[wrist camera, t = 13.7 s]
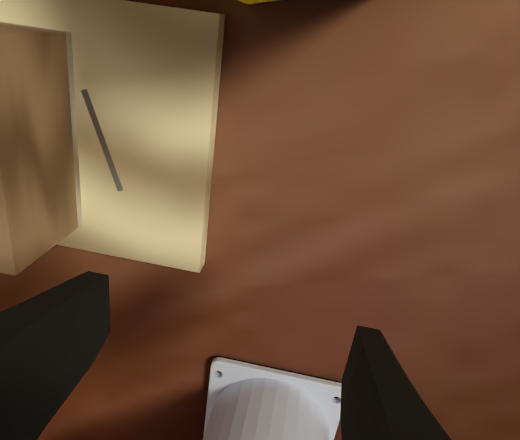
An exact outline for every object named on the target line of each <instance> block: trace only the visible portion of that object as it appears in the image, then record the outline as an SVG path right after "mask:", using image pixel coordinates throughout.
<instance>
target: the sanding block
mask: <svg viewBox="0 0 520 440" xmlns="http://www.w3.org/2000/svg"><path fill="white" fill-rule="evenodd" d="M81 225H82V209H81V192H80V175H79V158H78V140H77V123H76V106H75V89H74V72H73V55H72V38H71V32H66V31H60V30H53V29H46V28H40V27H33V26H27V25H20V24H13V23H7V22H0V273H4V274H9V275H14V276H16V275H18V274H19V273H20V272H22V271H23V270H24V269H25V268H27V267H28V266H29V265H31V264H32V263H33V262H34V261H36V260H37V259H38V258H40V257H41V256H42V255H43V254H45V253H46V252H47V251H49V250H50V249H51V248H52V247H54V246H55V245H56V244H58V243H59V242H60V241H61V240H63V239H64V238H65V237H67V236H68V235H69V234H70V233H72V232H73V231H74V230H76V229H77V228H78V227H79V226H81Z"/></svg>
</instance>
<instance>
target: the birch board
mask: <svg viewBox="0 0 520 440" xmlns="http://www.w3.org/2000/svg"><path fill="white" fill-rule="evenodd" d="M0 22H7V23H13V24H20V25H27V26H33V27H40V28H46V29H53V30H60V31H66V32H71V38H72V55H73V72H74V89H75V106H76V123H77V140H78V158H79V175H80V192H81V209H82V225H81V226H79V227H78V228H77V229H76V230H74V231H73V232H72V233H70V234H69V235H68V236H67V237H65V238H64V239H63V240H61V241H60V242H59V243H58V244H56V245H61V246H66V247H71V248H76V249H81V250H86V251H91V252H96V253H101V254H106V255H111V256H116V257H121V258H127V259H132V260H137V261H142V262H147V263H152V264H157V265H162V266H167V267H172V268H177V269H182V270H187V271H192V272H197V273H200V271H201V269H202V267H203V265H204V263H205V253H206V241H207V229H208V217H209V205H210V193H211V181H212V169H213V157H214V145H215V133H216V121H217V109H218V97H219V85H220V73H221V61H222V49H223V37H224V25H225V15H224V14H218V13H211V12H204V11H196V10H189V9H182V8H175V7H168V6H161V5H154V4H147V3H140V2H133V1H126V0H0Z"/></svg>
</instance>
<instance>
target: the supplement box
mask: <svg viewBox="0 0 520 440" xmlns="http://www.w3.org/2000/svg"><path fill="white" fill-rule="evenodd" d="M238 1H240V2H243V3H246V4H249V5H254V4H262V3H269V2H277V1H284V0H238Z"/></svg>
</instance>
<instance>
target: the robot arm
mask: <svg viewBox="0 0 520 440" xmlns="http://www.w3.org/2000/svg"><path fill="white" fill-rule="evenodd" d="M109 332H110V309H109V277H108V275H105V274H100V273H95V272H90V271H88V272H86V273H83V274H81V275H79V276H76V277H74V278H72V279H70V280H68V281H66V282H64V283H62V284H60V285H58V286H56V287H53V288H51V289H49V290H47V291H45V292H43V293H41V294H39V295H37V296H35V297H33V298H31V299H28V300H26V301H24V302H22V303H20V304H18V305H16V306H13V307H11V308H9V309H6V310H4V311H2V312H0V440H37V439H38V437H39V436H40V434H41V433H42V431H43V430H44V428H45V427H46V426H47V424H48V423H49V422H50V420H51V419H52V418H53V416H54V415H55V414H56V412H57V411H58V409H59V408H60V407H61V405H62V404H63V403H64V401H65V400H66V399H67V397H68V396H69V395H70V393H71V392H72V390H73V389H74V388H75V386H76V385H77V384H78V382H79V381H80V380H81V378H82V377H83V375H84V374H85V373H86V371H87V370H88V368H89V367H90V366H91V364H92V363H93V361H94V360H95V358H96V356H97V354H98V353H99V351H100V349H101V347H102V345H103V344H104V342H105V340H106V338H107V336H108V334H109ZM217 371H220V372H221V373H219V372H217ZM334 397H339V398H334ZM340 418H341V432H342V440H451V439H450V437H449V436H448V435H447V433H446V432H445V431H444V430H443V428H442V427H441V426H440V424H439V423H438V422H437V420H436V419H435V417H434V416H433V415H432V413H431V412H430V410H429V409H428V408H427V406H426V405H425V403H424V402H423V400H422V399H421V397H420V396H419V394H418V393H417V391H416V389H415V388H414V386H413V385H412V383H411V382H410V380H409V379H408V377H407V375H406V374H405V372H404V370H403V369H402V367H401V365H400V364H399V362H398V360H397V359H396V357H395V355H394V353H393V352H392V350H391V348H390V346H389V345H388V343H387V341H386V339H385V338H384V336H383V334H382V333H381V331H380V330H377V329H372V328H367V327H362V326H357V329H356V332H355V336H354V339H353V343H352V346H351V350H350V353H349V357H348V360H347V364H346V367H345V371H344V374H343V378H342V383H338V382H333V381H329V380H324V379H319V378H315V377H310V376H306V375H301V374H296V373H292V372H287V371H282V370H278V369H273V368H268V367H264V366H259V365H254V364H250V363H245V362H240V361H236V360H231V359H226V358H222V357H217V358H214V359H213V361H212V363H211V368H210V377H209V387H208V397H207V406H206V416H205V426H204V436H203V440H334V437H335V434H336V430H337V427H338V424H339V420H340Z"/></svg>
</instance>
